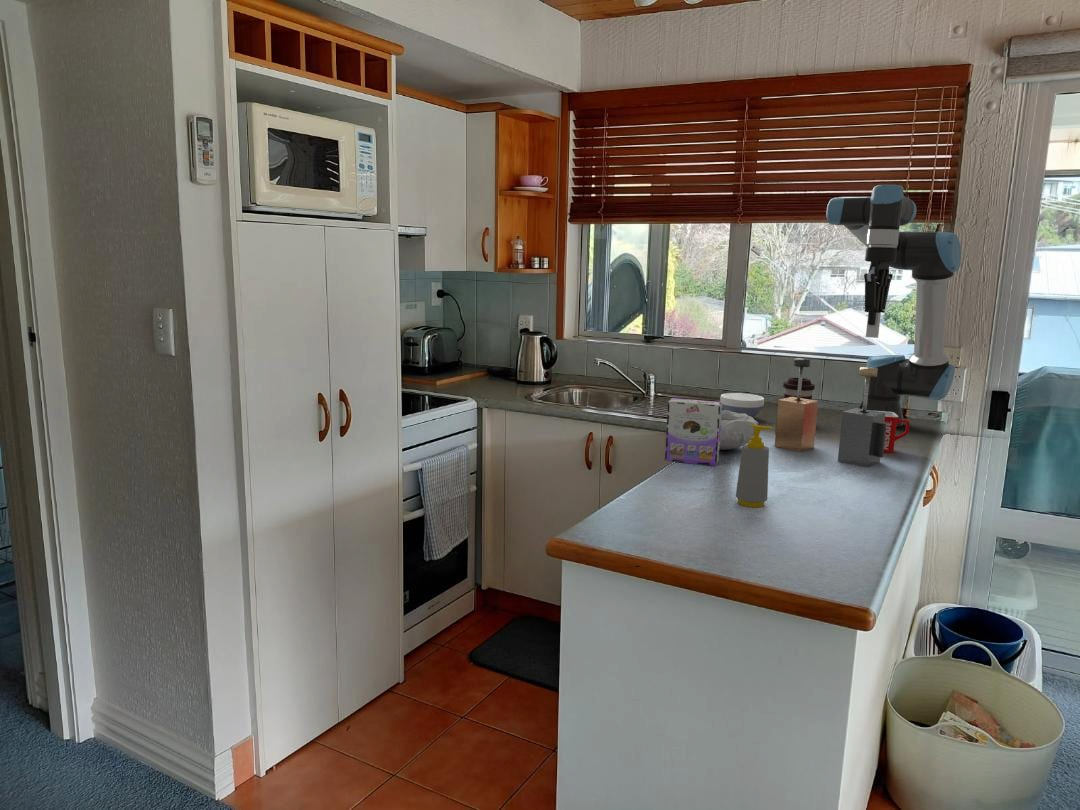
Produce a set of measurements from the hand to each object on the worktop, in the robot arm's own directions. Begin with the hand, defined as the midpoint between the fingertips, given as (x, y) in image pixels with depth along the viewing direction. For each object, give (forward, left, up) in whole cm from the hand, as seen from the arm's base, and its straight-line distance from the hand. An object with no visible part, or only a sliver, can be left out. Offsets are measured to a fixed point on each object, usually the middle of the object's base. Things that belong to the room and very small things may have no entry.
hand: (871, 337), depth 213 cm
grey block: (0, 0, -34) cm, 34 cm away
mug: (-20, -1, -34) cm, 40 cm away
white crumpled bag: (+17, -33, -34) cm, 51 cm away
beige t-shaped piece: (0, 0, -26) cm, 26 cm away
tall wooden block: (-2, -20, -34) cm, 40 cm away
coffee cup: (-34, -36, -34) cm, 60 cm away
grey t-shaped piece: (-2, -20, -26) cm, 32 cm away
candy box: (+36, -30, -34) cm, 58 cm away
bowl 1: (-26, -52, -34) cm, 68 cm away
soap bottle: (+57, 0, -34) cm, 66 cm away
